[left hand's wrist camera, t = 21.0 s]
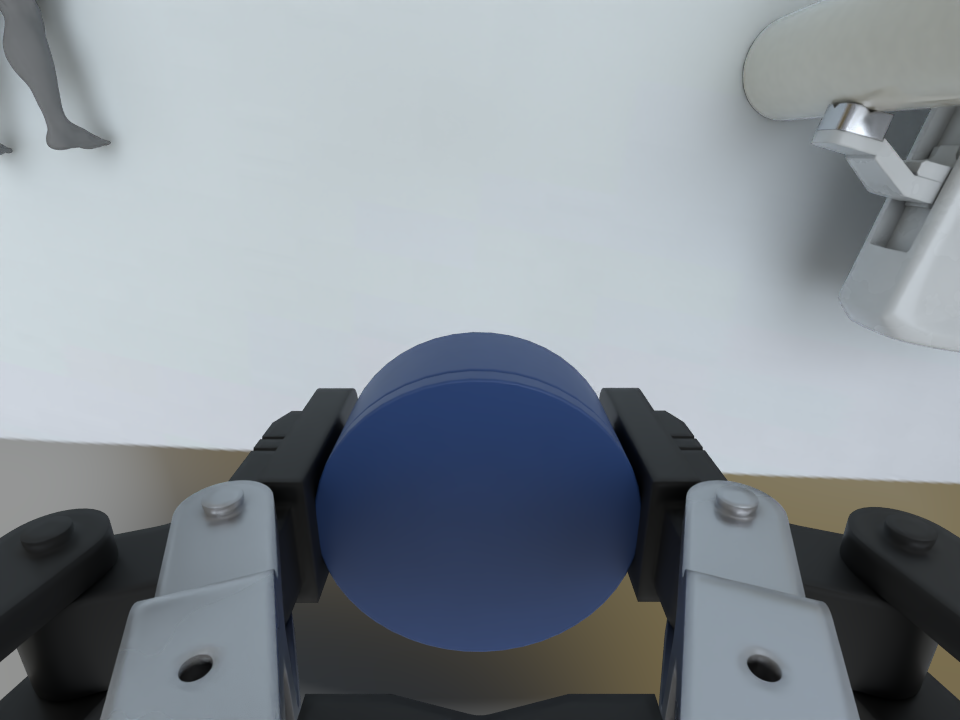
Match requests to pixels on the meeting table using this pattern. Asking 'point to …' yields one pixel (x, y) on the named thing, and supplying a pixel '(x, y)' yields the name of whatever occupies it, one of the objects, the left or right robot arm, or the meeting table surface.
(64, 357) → the meeting table surface
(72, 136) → the figurine
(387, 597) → the lid
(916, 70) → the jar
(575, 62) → the meeting table surface
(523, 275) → the meeting table surface
